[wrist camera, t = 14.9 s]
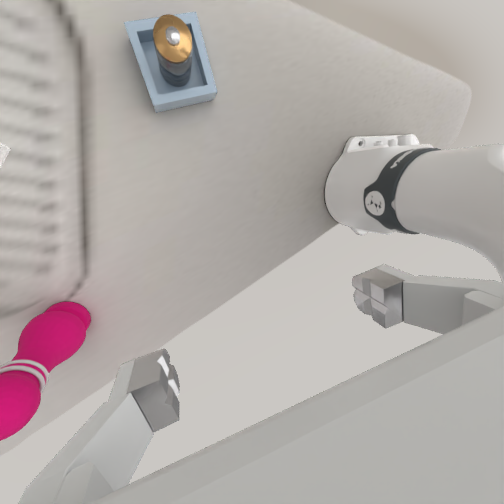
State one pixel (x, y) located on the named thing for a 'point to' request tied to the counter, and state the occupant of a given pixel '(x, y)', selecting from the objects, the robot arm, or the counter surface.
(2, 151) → the milk
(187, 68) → the cell
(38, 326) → the pepper mill
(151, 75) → the light blue square tray
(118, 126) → the counter surface
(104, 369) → the counter surface
